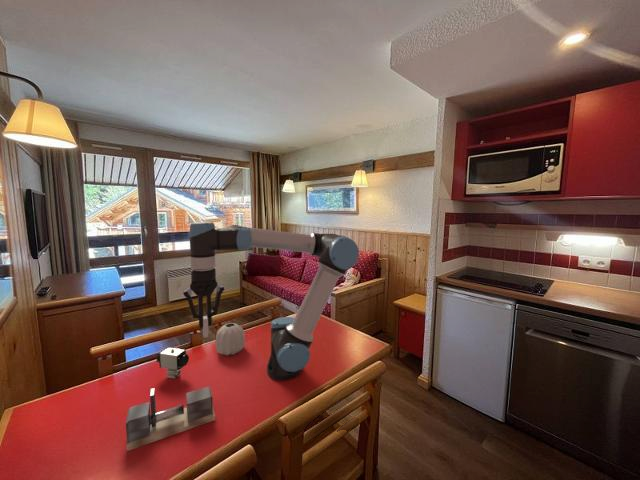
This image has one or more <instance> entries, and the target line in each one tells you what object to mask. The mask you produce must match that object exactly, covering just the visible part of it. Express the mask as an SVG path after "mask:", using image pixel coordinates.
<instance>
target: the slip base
mask: <svg viewBox="0 0 640 480" xmlns="http://www.w3.org/2000/svg"><path fill="white" fill-rule="evenodd" d="M185 397H186V400H185V401H186V407H184V414H182V415H179V416H176V417H173V418H170V419H167V420H164V421H161V422H158V423H156V427H154V428H152V424H151V425H149V415H150V414H151V402H150V401H148V402H147V401H146V402H145V403H140V404H137V405H134V406H130V408H128V410H127V414H126V418H125V419H126V420H125V430H126V431H125V433H126V452H129V451H131V450H134V449H137V448H140V447H142V446H145V445H148V444H152V443H154V442H157V441H159V440H162V439H165V438H168V437H171V436H174V435H176V434H179V433H182V432H185V431H189V430H191V429H193V428H197V427H199V426H202V425H204V424H208V423H210V422H213V421H216V413H215V410H214V406H213V394H212V389H211V386H210V385H209V386H206V387H202V388H199V389H195V390H193V391H188V392H186V394H185Z"/></svg>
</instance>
